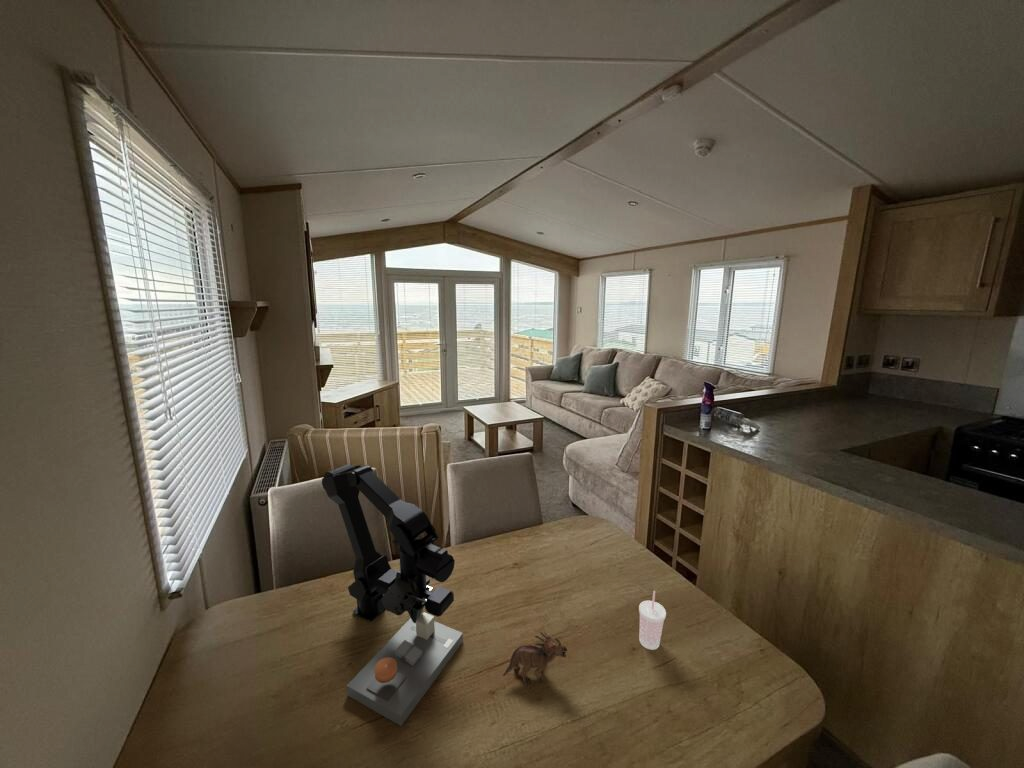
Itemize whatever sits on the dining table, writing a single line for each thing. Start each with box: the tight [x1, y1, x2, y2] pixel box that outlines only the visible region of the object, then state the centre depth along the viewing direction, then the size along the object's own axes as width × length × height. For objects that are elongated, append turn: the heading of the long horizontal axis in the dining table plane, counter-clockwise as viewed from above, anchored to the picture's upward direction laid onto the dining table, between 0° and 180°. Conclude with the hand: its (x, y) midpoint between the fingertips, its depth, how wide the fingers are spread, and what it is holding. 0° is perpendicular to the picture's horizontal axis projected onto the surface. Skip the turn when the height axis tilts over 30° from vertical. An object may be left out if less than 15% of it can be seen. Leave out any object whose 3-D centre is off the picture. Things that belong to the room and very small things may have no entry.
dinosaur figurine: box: [502, 631, 568, 686], centre depth 91 cm, size 14×6×9 cm, turn 99°
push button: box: [374, 657, 397, 683], centre depth 85 cm, size 4×4×3 cm
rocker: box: [395, 640, 423, 666], centre depth 92 cm, size 5×3×1 cm, turn 65°
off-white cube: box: [416, 611, 435, 640], centre depth 98 cm, size 3×3×4 cm
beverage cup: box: [638, 590, 667, 651], centre depth 99 cm, size 6×6×14 cm
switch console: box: [346, 614, 464, 727], centre depth 92 cm, size 14×22×3 cm, turn 154°
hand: (415, 621), depth 99 cm, fingers closed
